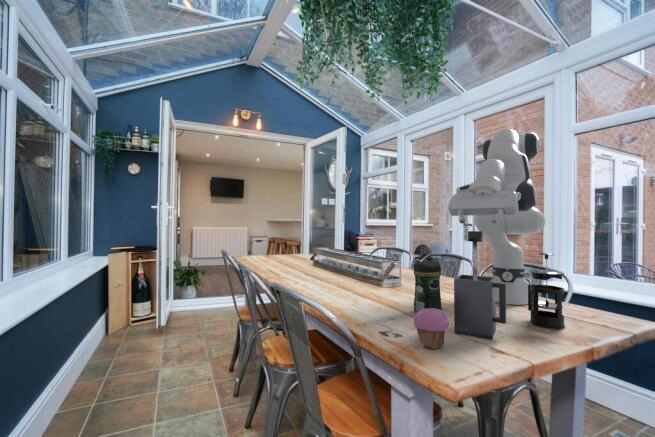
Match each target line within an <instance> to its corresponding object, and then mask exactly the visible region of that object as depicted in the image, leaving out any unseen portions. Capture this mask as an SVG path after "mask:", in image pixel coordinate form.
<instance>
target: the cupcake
mask: <svg viewBox="0 0 655 437" xmlns="http://www.w3.org/2000/svg"><path fill="white" fill-rule="evenodd" d="M413 325H414V327H415V328H416V331H417V335H418V341H419V342H420V344H421V345H422V346H423V347H425V348H426V347H427V348H430V349H432V350H437V349H439V348H441V347H443V346H444V344H445V333H446V331H447V330H449V327H450V319H449V317H448V316H447V315H446V314H445V313H444V311H443V310H440V309H435V308H426V309H421V310H420V311H418V312H416V313H415V315H414V317H413Z"/></svg>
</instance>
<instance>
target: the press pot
mask: <svg viewBox="0 0 655 437" xmlns="http://www.w3.org/2000/svg"><path fill="white" fill-rule="evenodd" d="M496 288H499V302H498V303H499V304H498V306H499V307H498V309H499V310H498V311H499V312H498V315H499V316H496V315H497V314H496V313H497V311H496V307H497V305H496V303H497V302H496ZM453 301H454V302H453V322H454V323H453V327H454V329H453V330H454V331H453V334H454V335H455V334H456V335H460V336H466V337H471V338H478V339H484V340H487V341H488V340H489V341H493V339H494V337H495V334H496V331H497V324H498V323H499V324H503V325H506V324H507V304H506V283H496V277H492V276H482V275H477V280H473V274H472V275H471V274H469V275H468V274H461V273H460V274H459V275H458V276H456V277H455V278H453ZM496 323H497V324H496Z"/></svg>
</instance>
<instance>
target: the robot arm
mask: <svg viewBox="0 0 655 437" xmlns="http://www.w3.org/2000/svg"><path fill="white" fill-rule="evenodd" d="M540 148H541V141H540V138H539V137H538V134H537V133H535V132H525V133H517V131H516V130H513V129H511V128H502V129H500V130H498V131H497V132H495V133H494V135H493V137H492V138H489V139H487V140H485V141H484V142H483V144H482V147H481V153H482V157H483V159H484V160H485V161H483V162H482V163H481V164H480V166H479V167H478V170H477V172H476V175H475V181H473V182H471V183H468V184H465V185H462V186H459V187H457V188H456V193H454V194H453V195H452V197H451V199H450V200H449V202H448V205H447V210H448V212H449V215H450V216H451V217H453V216H455V217H458V222H459V224H466V221H467V219H466V217H465V216H468V217H469V216H475V218H474V226H475V227H476V229H477V231H482V235H484V236H485V237H486V238H487V239H488V242H489V244H490V246H491V248H492V254H493V255H492V258H493V266H492V269H491V271H492V276H491V277H496V283H506V305H514V306H515V305H517V306H521V305H528V285H530V282H528V281H527V279H525V277H526V268H525V267H524V266H525V265H524V256H525V253H524V250H523V248H522V247H521V246H520V245H518V244H516V243H514V242H512V241H510V240H509V239H508V237H507V235H525V236H526V235H534V234H539V233H540V232H541V231H542V230H543V229H544V227H545V224H546V218H545V215H544V214H543V212H542V211H541V210H540V209H537V208H536V207H535V206H536V205H537V202H538V192H537V189H536V187H535V185H534V183H533V177H532V176H533V175H532V171H531V165H530V162H531V160H532V159H533V158H535V157H536V156H537V154H538V153H539V150H540ZM496 303H499V288H496Z"/></svg>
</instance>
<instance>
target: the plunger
mask: <svg viewBox="0 0 655 437" xmlns="http://www.w3.org/2000/svg"><path fill="white" fill-rule="evenodd" d="M467 242H471V243H472V275H473V280H477V276H478V243H481V242H483V233H482V231H479V230H473V231H472V230H471V231H470V230H468V231H467Z"/></svg>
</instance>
